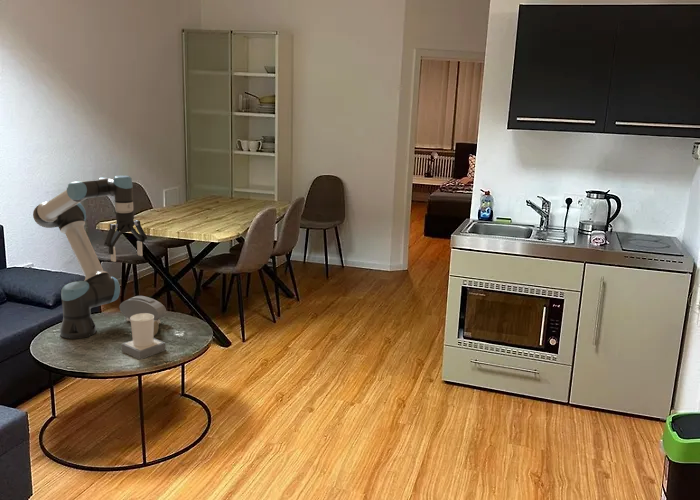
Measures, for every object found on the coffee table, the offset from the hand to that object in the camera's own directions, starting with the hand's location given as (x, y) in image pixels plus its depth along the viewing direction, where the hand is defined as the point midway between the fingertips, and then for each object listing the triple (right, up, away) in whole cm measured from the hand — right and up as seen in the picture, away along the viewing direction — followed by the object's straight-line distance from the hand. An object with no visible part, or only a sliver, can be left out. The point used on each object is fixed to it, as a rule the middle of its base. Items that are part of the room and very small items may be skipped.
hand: (127, 258), depth 276 cm
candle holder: (+10, -37, -8) cm, 39 cm away
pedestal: (+10, -40, -7) cm, 42 cm away
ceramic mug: (+6, -36, +12) cm, 38 cm away
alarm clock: (-1, -32, +26) cm, 41 cm away
